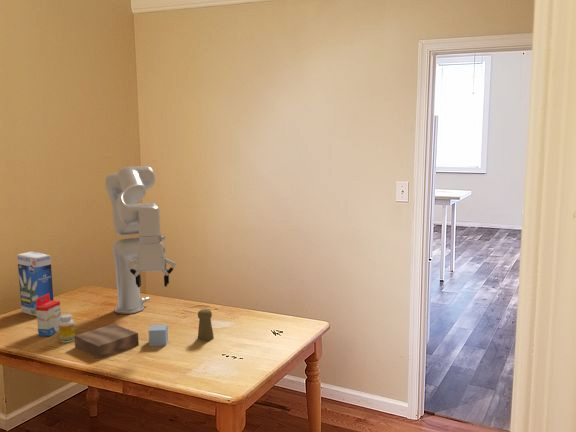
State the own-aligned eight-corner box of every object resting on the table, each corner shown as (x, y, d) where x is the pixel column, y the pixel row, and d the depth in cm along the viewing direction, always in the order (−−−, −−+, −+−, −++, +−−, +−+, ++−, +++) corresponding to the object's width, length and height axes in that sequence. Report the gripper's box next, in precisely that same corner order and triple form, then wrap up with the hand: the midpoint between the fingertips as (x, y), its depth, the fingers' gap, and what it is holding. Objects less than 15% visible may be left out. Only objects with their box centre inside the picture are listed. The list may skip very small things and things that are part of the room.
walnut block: (113, 336, 219) (113, 323, 218) (138, 346, 208) (138, 333, 208) (75, 348, 207) (74, 335, 206) (99, 359, 196) (98, 346, 196)
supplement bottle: (59, 339, 215) (57, 314, 214) (74, 336, 217) (72, 312, 216) (60, 344, 210) (58, 319, 209) (76, 341, 213) (74, 316, 211)
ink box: (49, 336, 218) (46, 299, 215) (38, 336, 218) (34, 299, 216) (62, 329, 226) (59, 293, 224) (51, 328, 227) (48, 292, 225)
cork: (200, 342, 210) (199, 313, 209) (195, 337, 216) (194, 309, 214) (216, 339, 213) (215, 311, 211) (210, 334, 218) (209, 306, 217)
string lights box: (21, 312, 247) (16, 254, 243) (36, 307, 253) (32, 251, 250) (40, 317, 240) (35, 257, 236) (55, 312, 247) (51, 254, 243)
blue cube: (168, 339, 214) (167, 324, 213) (166, 345, 208) (165, 330, 207) (151, 340, 213) (151, 325, 212) (149, 346, 207) (148, 330, 206)
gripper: (176, 237, 209) (178, 282, 212) (128, 238, 208) (130, 284, 211) (173, 241, 202) (175, 288, 204) (123, 242, 201) (126, 289, 203)
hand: (152, 286), depth 208 cm, fingers open, 9 cm apart
